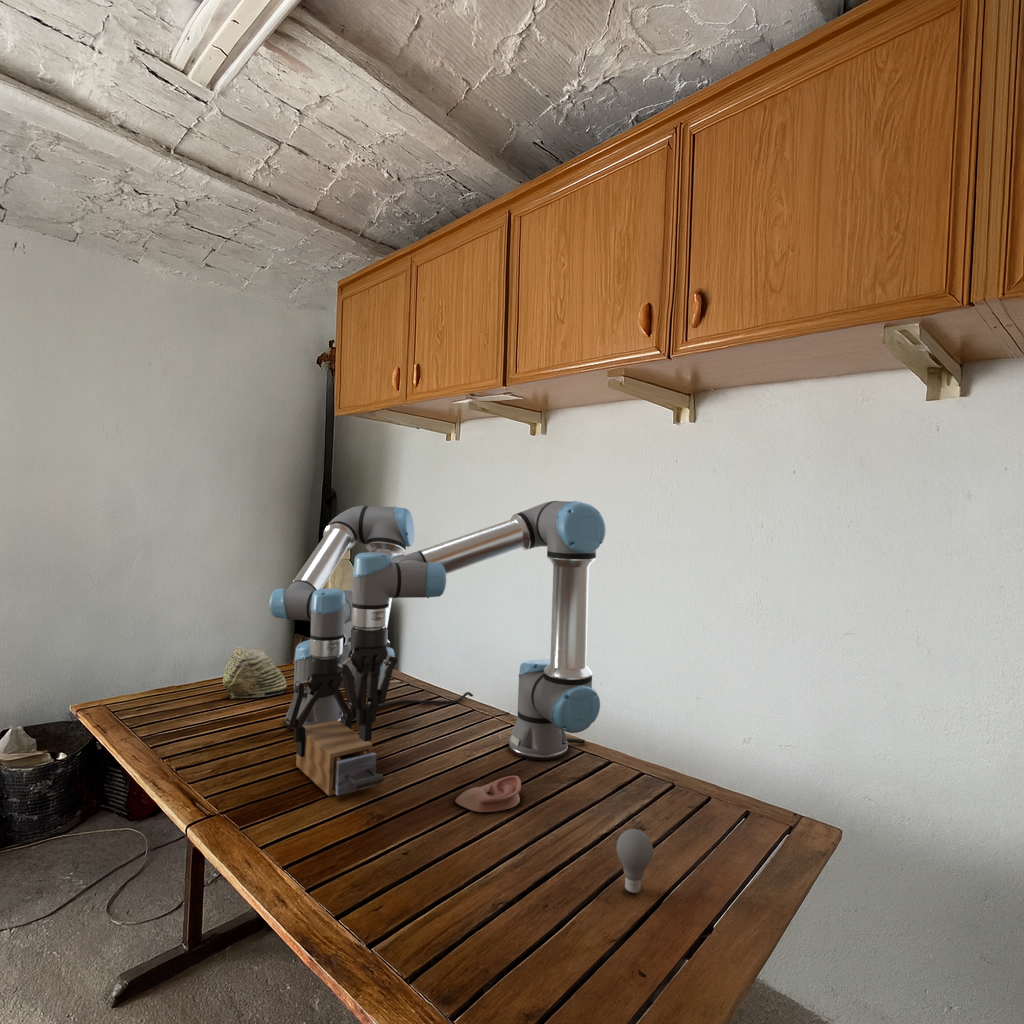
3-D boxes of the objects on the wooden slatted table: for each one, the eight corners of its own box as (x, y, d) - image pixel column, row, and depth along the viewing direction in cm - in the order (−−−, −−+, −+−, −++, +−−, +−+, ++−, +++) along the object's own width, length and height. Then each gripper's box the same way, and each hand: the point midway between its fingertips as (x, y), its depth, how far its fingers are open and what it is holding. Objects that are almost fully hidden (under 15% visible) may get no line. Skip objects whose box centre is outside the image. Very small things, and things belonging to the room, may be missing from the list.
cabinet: (370, 784, 141) (372, 744, 140) (328, 796, 134) (330, 754, 134) (335, 756, 155) (337, 719, 154) (296, 765, 148) (297, 727, 148)
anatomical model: (451, 789, 131) (466, 766, 142) (450, 808, 131) (465, 784, 142) (514, 798, 128) (524, 774, 139) (513, 817, 128) (523, 792, 139)
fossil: (218, 695, 195) (220, 647, 195) (278, 685, 208) (279, 640, 207) (228, 703, 189) (230, 653, 188) (289, 692, 201) (290, 645, 201)
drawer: (388, 796, 133) (389, 763, 133) (349, 807, 128) (351, 773, 128) (341, 759, 151) (342, 729, 151) (305, 767, 145) (307, 737, 145)
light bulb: (610, 879, 108) (613, 822, 108) (644, 879, 109) (647, 822, 109) (619, 902, 102) (622, 840, 102) (655, 901, 103) (658, 840, 103)
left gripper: (284, 665, 138) (280, 766, 139) (377, 653, 153) (373, 744, 153) (272, 658, 144) (268, 755, 145) (362, 646, 159) (359, 735, 159)
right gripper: (348, 633, 125) (343, 751, 126) (406, 627, 134) (401, 738, 134) (332, 626, 131) (328, 739, 131) (388, 620, 139) (384, 727, 140)
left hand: (322, 749), depth 149 cm, fingers closed on cabinet, 10 cm apart
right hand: (365, 738), depth 133 cm, fingers closed
